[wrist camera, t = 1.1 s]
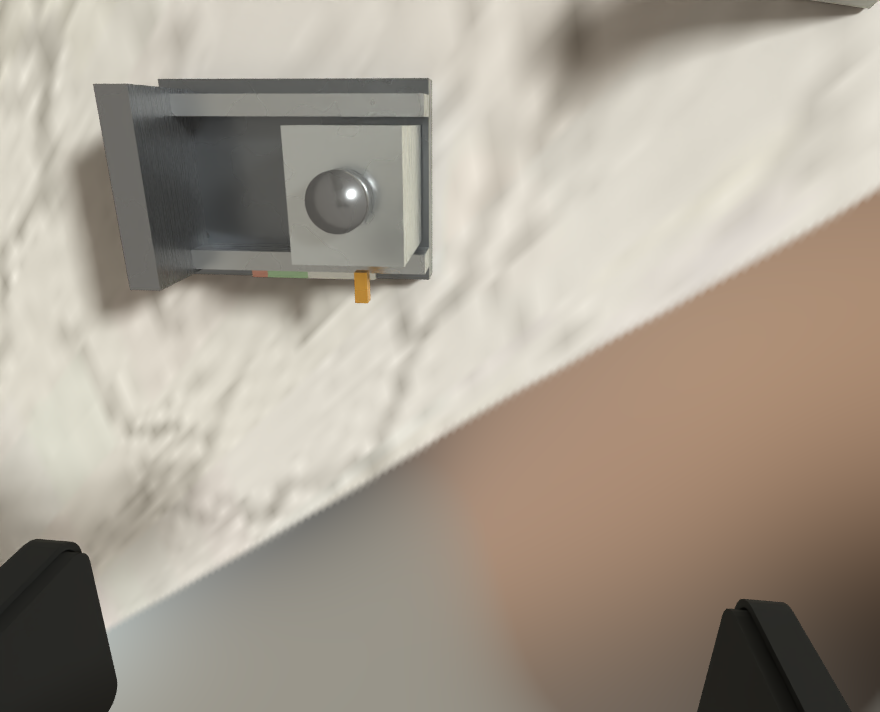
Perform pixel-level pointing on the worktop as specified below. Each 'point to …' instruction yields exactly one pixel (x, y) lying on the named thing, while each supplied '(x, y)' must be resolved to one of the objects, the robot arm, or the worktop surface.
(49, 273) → the worktop surface
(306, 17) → the worktop surface
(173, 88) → the base
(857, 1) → the flask
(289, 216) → the knobbed grey cube
